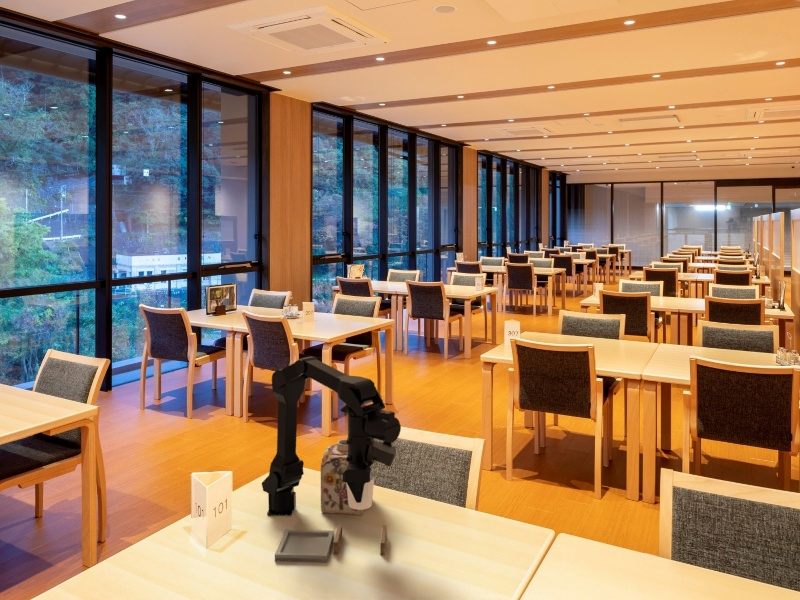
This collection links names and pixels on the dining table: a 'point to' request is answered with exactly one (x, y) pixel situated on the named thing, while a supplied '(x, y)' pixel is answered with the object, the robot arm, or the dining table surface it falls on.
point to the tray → (305, 546)
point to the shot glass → (366, 496)
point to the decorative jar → (335, 480)
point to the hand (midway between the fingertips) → (360, 496)
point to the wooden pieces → (339, 536)
